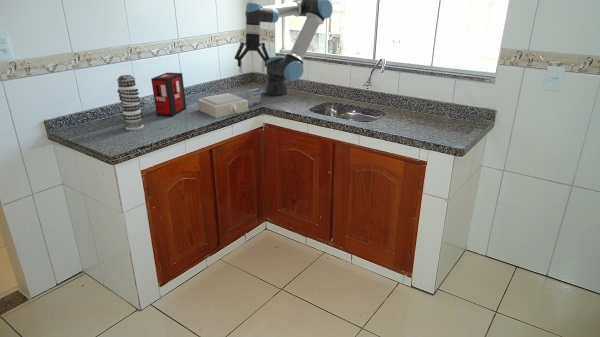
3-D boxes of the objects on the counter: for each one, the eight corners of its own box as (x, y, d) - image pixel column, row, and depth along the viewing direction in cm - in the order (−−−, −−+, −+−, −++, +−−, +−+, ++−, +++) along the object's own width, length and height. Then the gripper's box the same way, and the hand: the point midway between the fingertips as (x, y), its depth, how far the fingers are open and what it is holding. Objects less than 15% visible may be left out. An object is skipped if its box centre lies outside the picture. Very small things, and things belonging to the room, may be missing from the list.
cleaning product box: (172, 107, 229) (167, 72, 221) (186, 108, 228) (182, 73, 219) (157, 116, 214) (151, 78, 206) (172, 117, 213) (167, 79, 205)
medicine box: (251, 106, 231) (251, 91, 227) (246, 105, 233) (245, 90, 230) (261, 103, 236) (260, 89, 233) (255, 102, 239) (254, 88, 235)
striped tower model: (123, 131, 192) (113, 78, 182) (125, 125, 200) (115, 74, 190) (143, 129, 194) (134, 77, 184) (145, 123, 202) (136, 73, 192)
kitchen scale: (230, 104, 236) (229, 91, 233) (249, 111, 221) (248, 98, 218) (198, 110, 224) (197, 97, 221) (217, 118, 210) (216, 105, 207)
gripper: (233, 32, 211) (233, 73, 218) (276, 34, 223) (274, 73, 230) (228, 31, 217) (228, 71, 224) (270, 33, 229) (269, 71, 236)
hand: (252, 72), depth 227 cm, fingers open, 13 cm apart
